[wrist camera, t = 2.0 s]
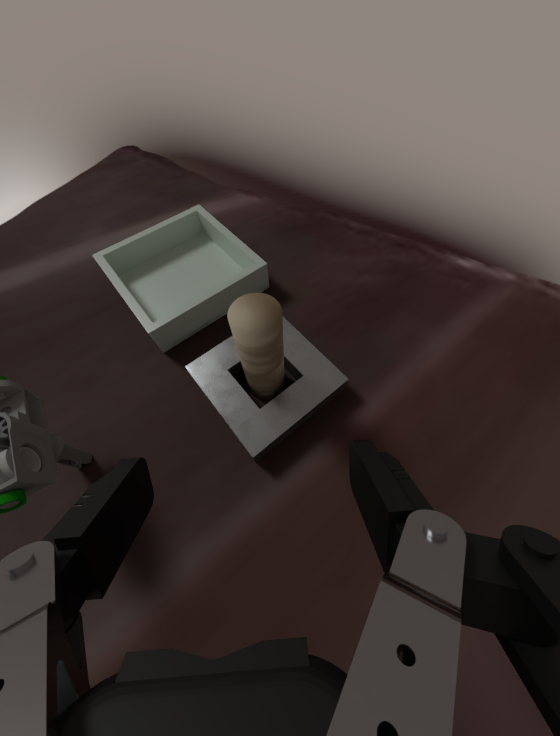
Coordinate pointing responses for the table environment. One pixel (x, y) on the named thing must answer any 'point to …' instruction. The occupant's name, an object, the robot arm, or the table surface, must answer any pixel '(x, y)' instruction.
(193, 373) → the socket block
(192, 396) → the table surface
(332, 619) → the table surface
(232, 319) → the dowel
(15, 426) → the mechanical component
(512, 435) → the table surface
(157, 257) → the tray
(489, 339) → the table surface
